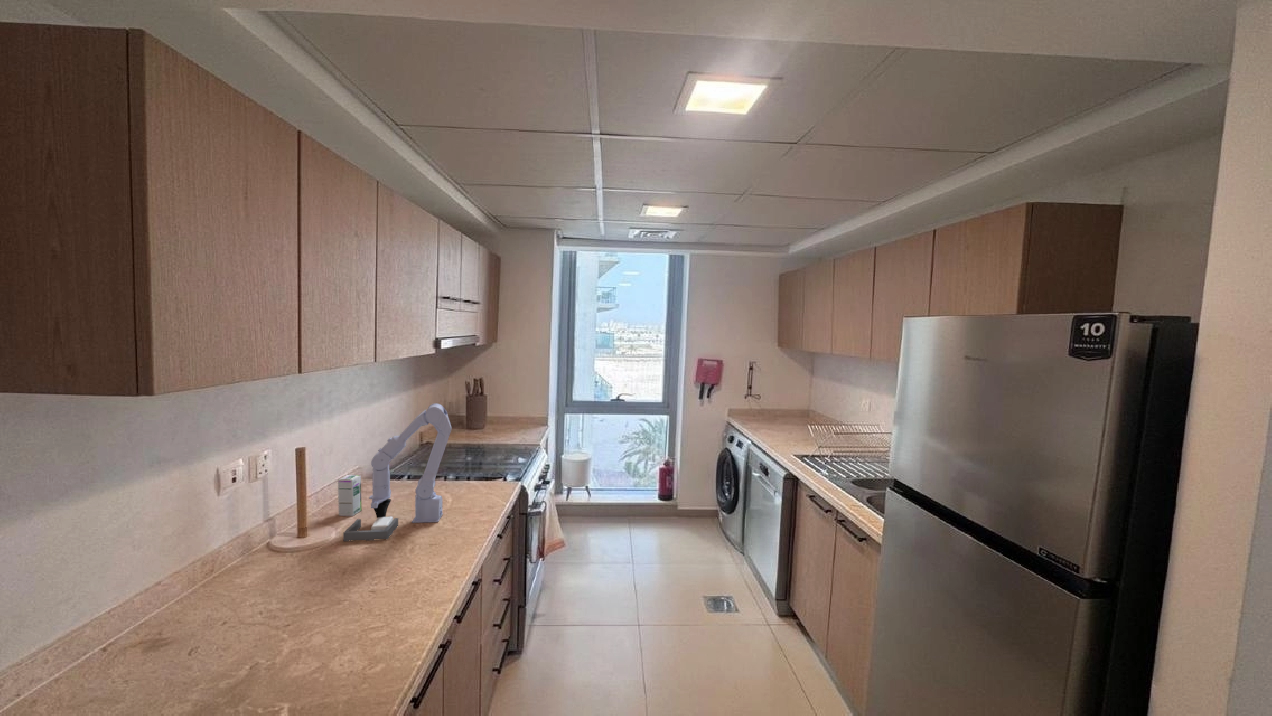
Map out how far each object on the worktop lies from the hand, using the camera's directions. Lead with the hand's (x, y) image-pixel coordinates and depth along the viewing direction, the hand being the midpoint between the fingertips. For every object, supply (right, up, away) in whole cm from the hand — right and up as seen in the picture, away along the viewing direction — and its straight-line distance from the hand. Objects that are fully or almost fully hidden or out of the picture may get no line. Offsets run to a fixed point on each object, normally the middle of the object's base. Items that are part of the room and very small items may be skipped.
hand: (381, 520), depth 181 cm
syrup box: (-16, 0, +8) cm, 18 cm away
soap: (+3, -2, -5) cm, 6 cm away
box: (+1, -2, -8) cm, 9 cm away
